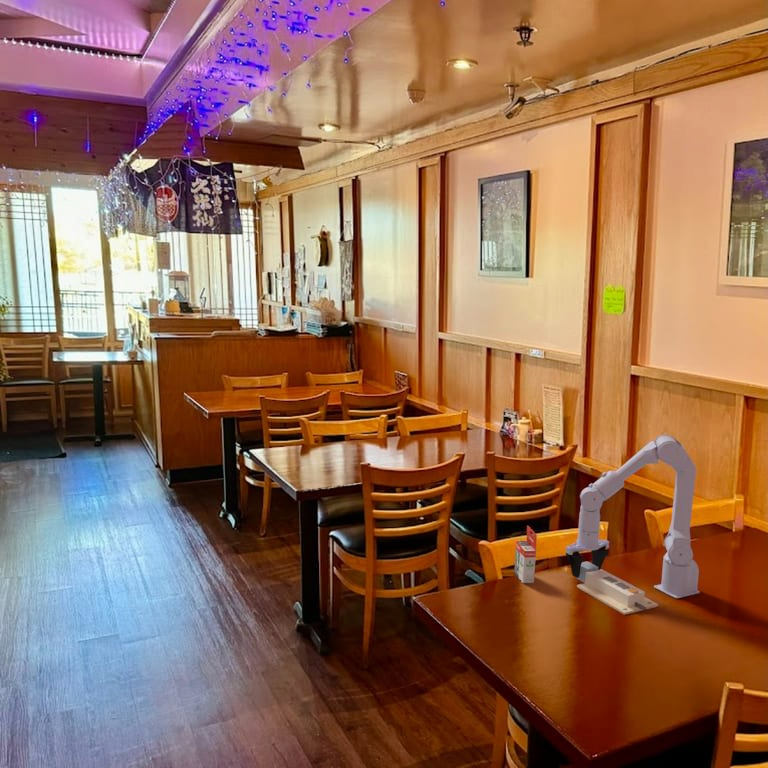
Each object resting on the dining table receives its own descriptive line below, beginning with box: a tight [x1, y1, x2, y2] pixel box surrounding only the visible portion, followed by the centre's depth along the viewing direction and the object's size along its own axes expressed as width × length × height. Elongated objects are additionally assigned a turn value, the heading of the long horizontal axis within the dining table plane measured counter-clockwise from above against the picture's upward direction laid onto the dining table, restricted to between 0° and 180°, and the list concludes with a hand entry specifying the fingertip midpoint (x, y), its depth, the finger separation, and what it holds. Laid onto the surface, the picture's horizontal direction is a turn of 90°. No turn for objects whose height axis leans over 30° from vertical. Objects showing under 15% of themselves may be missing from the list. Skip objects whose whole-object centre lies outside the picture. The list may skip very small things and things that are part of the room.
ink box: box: [513, 525, 538, 584], centre depth 195 cm, size 4×8×15 cm, turn 7°
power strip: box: [576, 568, 659, 615], centre depth 184 cm, size 12×19×4 cm, turn 26°
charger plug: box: [576, 561, 598, 584], centre depth 193 cm, size 4×8×4 cm, turn 26°
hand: (585, 574), depth 195 cm, fingers open, 7 cm apart
